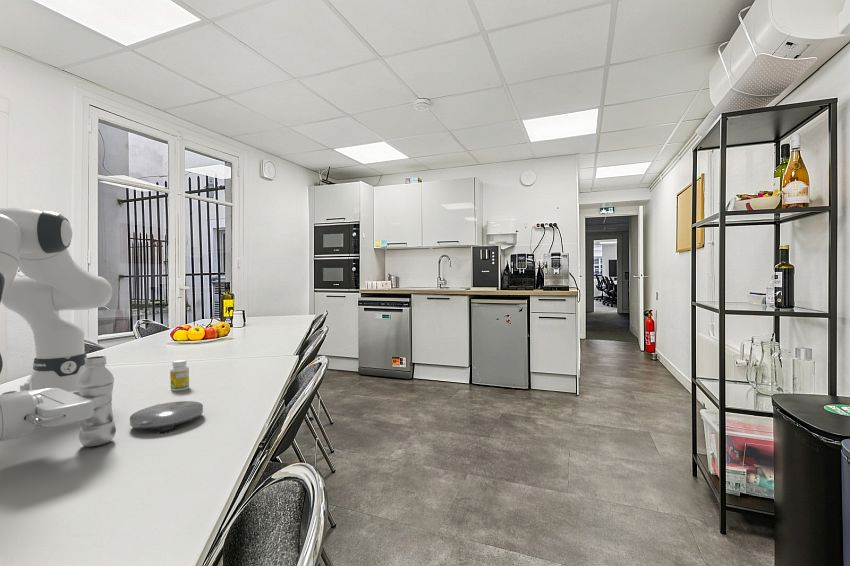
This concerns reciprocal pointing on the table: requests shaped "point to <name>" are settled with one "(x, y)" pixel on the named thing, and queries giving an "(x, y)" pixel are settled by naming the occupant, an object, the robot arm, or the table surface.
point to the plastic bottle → (101, 423)
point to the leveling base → (166, 415)
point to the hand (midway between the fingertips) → (101, 395)
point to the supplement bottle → (179, 375)
